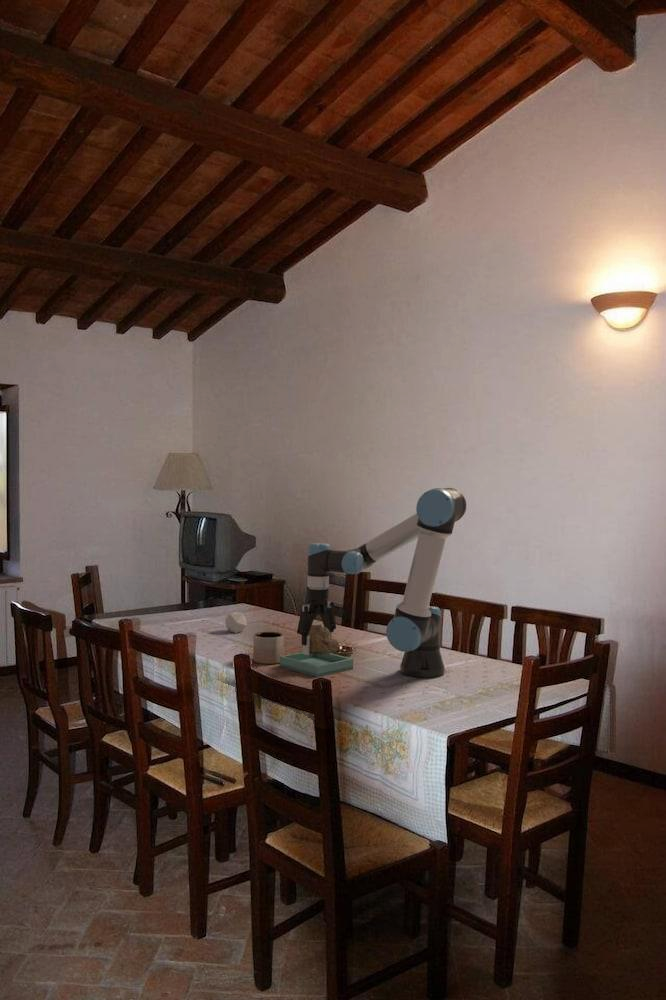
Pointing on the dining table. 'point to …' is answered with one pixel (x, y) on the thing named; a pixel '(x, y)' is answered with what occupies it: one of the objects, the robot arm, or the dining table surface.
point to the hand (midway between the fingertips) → (316, 652)
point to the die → (235, 622)
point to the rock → (321, 641)
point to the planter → (268, 647)
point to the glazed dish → (316, 663)
